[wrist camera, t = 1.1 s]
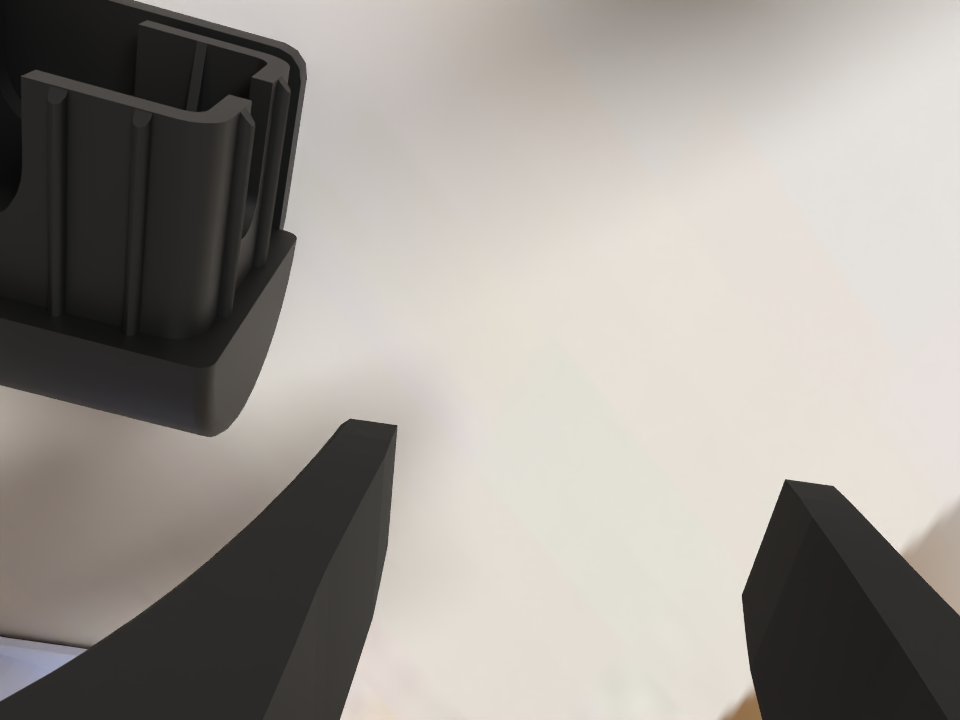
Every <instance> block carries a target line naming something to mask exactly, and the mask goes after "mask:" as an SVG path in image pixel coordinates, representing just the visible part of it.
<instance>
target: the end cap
mask: <svg viewBox="0 0 960 720" xmlns="http://www.w3.org/2000/svg"><path fill="white" fill-rule="evenodd" d="M306 80H307V74H306V63H305V62H304V60H303V58H302V57H301V55H300V54H299V52H298V50H296V49H294V48H293V47H291V46H289V45H288V44H286V43H283V42H280V41H276V40H273V39H269V38H265V37H262V36H258V35H255V34H251V33H248V32H244V31H241V30H237V29H233V28H230V27H226V26H223V25H219V24H216V23H212V22H208V21H205V20H201V19H198V18H194V17H191V16H187V15H184V14H180V13H176V12H173V11H169V10H166V9H162V8H159V7H155V6H151V5H148V4H144V3H141V2H137V1H134V0H0V385H2V386H6V387H10V388H14V389H18V390H22V391H26V392H30V393H34V394H38V395H42V396H46V397H50V398H54V399H58V400H62V401H66V402H70V403H74V404H78V405H82V406H86V407H90V408H94V409H98V410H102V411H106V412H110V413H114V414H118V415H122V416H126V417H130V418H134V419H138V420H142V421H146V422H150V423H154V424H158V425H162V426H166V427H170V428H174V429H178V430H182V431H186V432H190V433H194V434H197V435H202V436H207V437H213V436H216V435H218V434H220V433H222V432H223V431H225V430H227V429H228V428H229V426H230V425H231V424H232V423H233V422H234V421H235V419H236V418H237V417H238V415H239V414H240V412H241V411H242V409H243V407H244V406H245V404H246V402H247V400H248V398H249V396H250V394H251V392H252V390H253V388H254V386H255V383H256V381H257V378H258V376H259V374H260V371H261V369H262V366H263V363H264V361H265V358H266V355H267V353H268V350H269V347H270V344H271V341H272V338H273V335H274V332H275V328H276V325H277V322H278V318H279V315H280V311H281V308H282V304H283V300H284V296H285V292H286V288H287V284H288V280H289V275H290V271H291V266H292V261H293V256H294V250H295V245H296V239H297V238H296V236H295V235H294V234H292V233H290V232H287V231H284V230H283V227H284V223H285V218H286V212H287V205H288V199H289V192H290V186H291V179H292V172H293V166H294V159H295V153H296V146H297V139H298V133H299V126H300V120H301V113H302V106H303V100H304V93H305V87H306Z"/></svg>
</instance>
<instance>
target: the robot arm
mask: <svg viewBox="0 0 960 720" xmlns="http://www.w3.org/2000/svg"><path fill="white" fill-rule="evenodd" d="M396 437H397V425H391V424H384V423H377V422H370V421H363V420H355V419H349V420H348V421H346V422H345V423H343V424H342V425H340V427H339V428H338V429H337V431H336V432H335V433H334V434H333V436H332V437H331V438H330V439H329V440H328V442H327V443H326V444H325V445H324V446H323V448H322V449H321V450H320V451H319V452H318V454H317V455H316V456H315V457H314V458H313V459H312V460H311V461H310V463H309V464H308V465H307V466H306V467H305V468H304V469H303V470H302V471H301V472H300V474H299V475H298V476H297V477H296V478H295V479H294V480H293V481H292V482H291V483H290V484H289V485H288V486H287V487H286V488H285V489H284V490H283V491H282V492H281V493H280V494H279V495H278V496H277V497H276V498H275V499H274V500H273V501H272V502H271V503H270V504H269V505H268V506H267V507H266V508H265V509H264V510H263V511H262V512H261V513H260V514H259V515H258V516H257V517H256V518H255V519H254V520H253V521H252V522H251V523H250V524H249V525H248V526H247V527H246V528H244V529H243V530H242V531H241V532H240V533H239V534H238V535H237V536H235V537H234V538H233V539H232V540H231V541H230V542H229V543H228V544H227V545H225V546H224V547H223V548H222V549H221V550H220V551H219V552H218V553H216V554H215V555H214V556H213V557H212V558H211V559H210V560H209V561H207V562H206V563H205V564H204V565H203V566H201V567H200V568H199V569H198V570H197V571H195V572H194V573H193V574H192V575H190V576H189V577H188V578H187V579H186V580H184V581H183V582H182V583H180V584H179V585H178V586H177V587H175V588H174V589H173V590H172V591H170V592H169V593H167V594H166V595H165V596H163V597H162V598H161V599H159V600H158V601H157V602H155V603H154V604H153V605H151V606H150V607H149V608H147V609H146V610H145V611H143V612H142V613H141V614H139V615H138V616H136V617H135V618H133V619H132V620H131V621H129V622H128V623H126V624H125V625H123V626H122V627H120V628H119V629H117V630H116V631H114V632H113V633H111V634H110V635H108V636H107V637H105V638H104V639H102V640H101V641H100V642H98V643H97V644H95V645H94V646H92V647H91V648H89V649H83V648H76V647H69V646H62V645H55V644H48V643H41V642H34V641H27V640H19V639H12V638H5V637H0V720H340V717H341V714H342V711H343V708H344V705H345V702H346V699H347V696H348V693H349V690H350V687H351V684H352V681H353V677H354V674H355V671H356V668H357V665H358V662H359V659H360V656H361V653H362V650H363V646H364V643H365V640H366V637H367V634H368V631H369V628H370V625H371V621H372V618H373V614H374V610H375V605H376V600H377V595H378V590H379V586H380V581H381V576H382V571H383V566H384V561H385V556H386V551H387V546H388V534H389V522H390V510H391V497H392V485H393V473H394V461H395V449H396ZM742 603H743V613H744V623H745V633H746V641H747V649H748V656H749V664H750V671H751V675H752V679H753V684H754V688H755V692H756V696H757V700H758V704H759V708H760V712H761V716H762V720H960V616H959V615H958V614H957V613H956V612H955V611H954V610H953V609H952V608H951V607H950V606H949V605H948V604H947V603H946V602H945V601H944V600H943V599H942V598H941V597H940V596H939V594H938V593H937V592H935V590H934V589H933V588H932V587H931V586H929V584H928V583H927V582H926V581H925V580H924V579H923V578H922V577H921V576H920V575H919V574H918V573H917V572H916V571H915V570H914V569H913V568H912V567H911V566H910V565H909V563H908V562H907V561H906V560H905V559H904V558H903V557H902V556H901V555H900V554H899V553H898V552H897V551H896V550H895V549H894V548H893V547H892V546H891V544H890V543H889V542H888V541H887V540H886V539H885V538H884V537H883V536H882V535H881V534H880V533H879V532H878V531H877V530H876V529H875V528H874V527H873V525H872V524H871V523H870V522H869V521H868V520H867V519H866V518H865V517H864V516H863V515H862V514H861V513H860V512H859V511H858V510H857V509H856V508H855V507H854V506H853V505H852V504H851V503H850V502H849V501H848V500H847V499H846V498H845V497H844V496H843V495H842V494H841V493H840V492H839V491H838V490H837V489H836V488H835V487H834V486H829V485H822V484H815V483H807V482H800V481H793V480H786V479H785V482H784V484H783V487H782V490H781V492H780V495H779V498H778V500H777V503H776V506H775V508H774V511H773V514H772V516H771V519H770V522H769V524H768V527H767V530H766V532H765V535H764V538H763V540H762V543H761V546H760V548H759V551H758V554H757V556H756V559H755V562H754V564H753V567H752V570H751V572H750V575H749V578H748V580H747V583H746V586H745V588H744V591H743V594H742Z"/></svg>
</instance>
